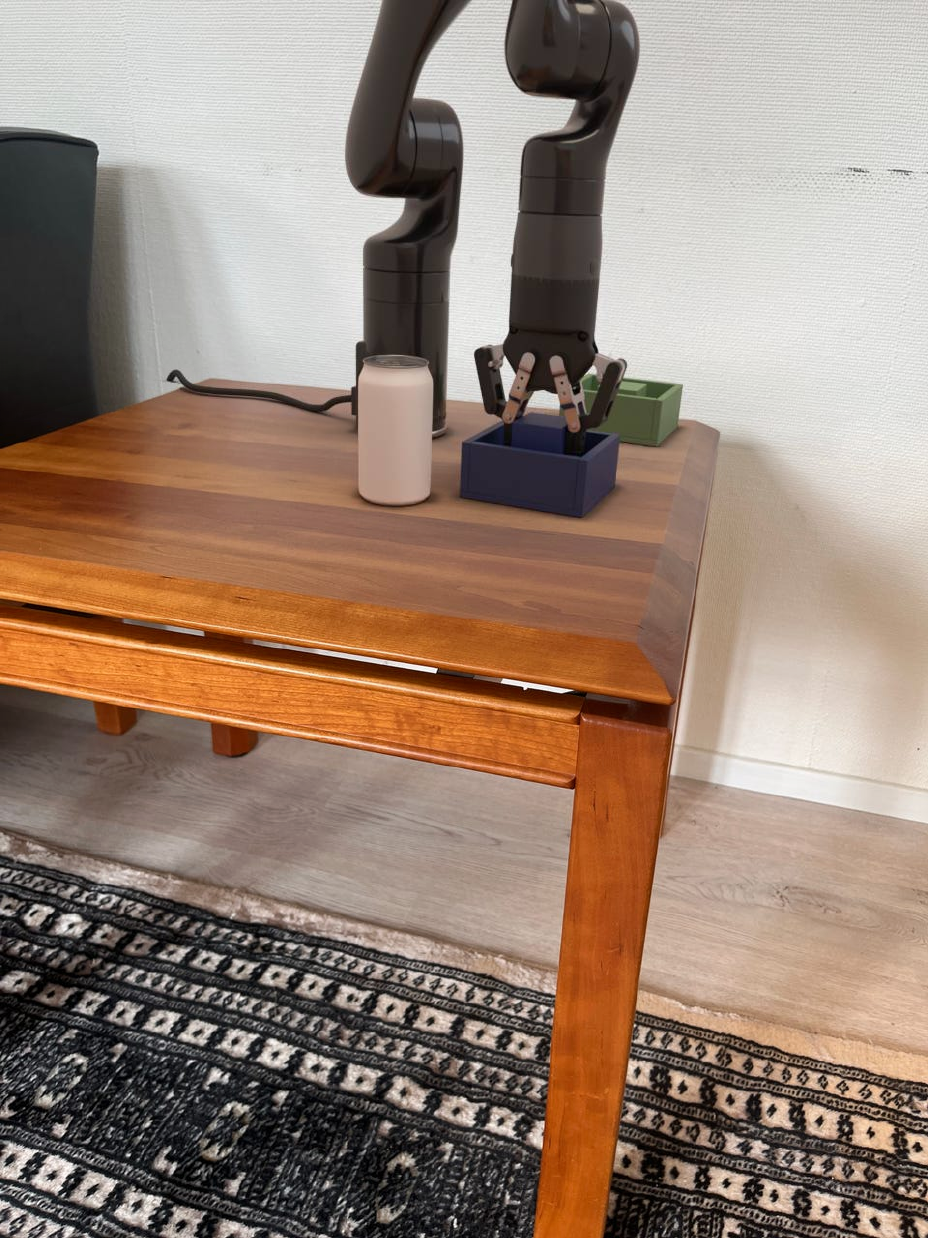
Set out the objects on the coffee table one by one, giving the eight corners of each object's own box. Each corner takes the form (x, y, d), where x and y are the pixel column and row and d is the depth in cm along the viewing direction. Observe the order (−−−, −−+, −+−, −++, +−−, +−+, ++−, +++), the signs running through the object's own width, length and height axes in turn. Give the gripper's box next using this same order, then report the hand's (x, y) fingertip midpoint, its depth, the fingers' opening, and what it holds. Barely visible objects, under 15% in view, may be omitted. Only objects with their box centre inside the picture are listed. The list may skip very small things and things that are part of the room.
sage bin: (557, 432, 113) (560, 387, 111) (584, 414, 122) (588, 373, 120) (657, 446, 109) (662, 400, 107) (677, 427, 118) (683, 384, 116)
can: (420, 510, 85) (424, 369, 80) (349, 502, 86) (348, 363, 82) (437, 489, 91) (441, 357, 86) (370, 482, 92) (370, 351, 87)
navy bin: (459, 497, 89) (461, 441, 87) (502, 469, 98) (504, 418, 96) (582, 517, 85) (587, 460, 83) (614, 486, 94) (620, 434, 92)
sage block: (593, 426, 114) (597, 386, 112) (604, 418, 118) (608, 379, 116) (632, 431, 112) (637, 390, 110) (642, 423, 116) (646, 383, 114)
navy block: (509, 471, 90) (512, 421, 88) (526, 460, 94) (529, 411, 92) (557, 479, 88) (561, 428, 86) (573, 467, 92) (577, 418, 90)
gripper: (649, 274, 84) (627, 468, 91) (494, 262, 89) (485, 447, 96) (626, 280, 78) (605, 488, 85) (461, 267, 83) (454, 465, 90)
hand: (541, 465), depth 91 cm, fingers closed on navy block, 4 cm apart
